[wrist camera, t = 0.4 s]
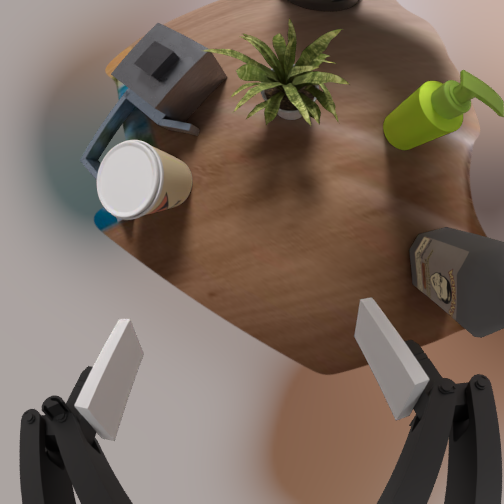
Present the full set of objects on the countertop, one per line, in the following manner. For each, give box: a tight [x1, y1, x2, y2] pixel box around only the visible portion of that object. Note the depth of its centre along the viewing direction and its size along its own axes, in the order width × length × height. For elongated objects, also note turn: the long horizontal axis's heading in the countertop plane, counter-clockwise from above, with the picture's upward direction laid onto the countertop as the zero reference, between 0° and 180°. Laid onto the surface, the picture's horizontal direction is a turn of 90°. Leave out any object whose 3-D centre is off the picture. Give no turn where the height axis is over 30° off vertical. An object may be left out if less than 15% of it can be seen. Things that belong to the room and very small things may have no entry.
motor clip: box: [80, 23, 227, 222], centre depth 32 cm, size 16×27×11 cm, turn 137°
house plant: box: [204, 18, 350, 125], centre depth 26 cm, size 14×14×16 cm
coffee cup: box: [97, 140, 192, 220], centre depth 33 cm, size 9×9×12 cm
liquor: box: [409, 227, 504, 338], centre depth 20 cm, size 9×9×30 cm
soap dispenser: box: [383, 70, 504, 150], centre depth 22 cm, size 6×7×20 cm
